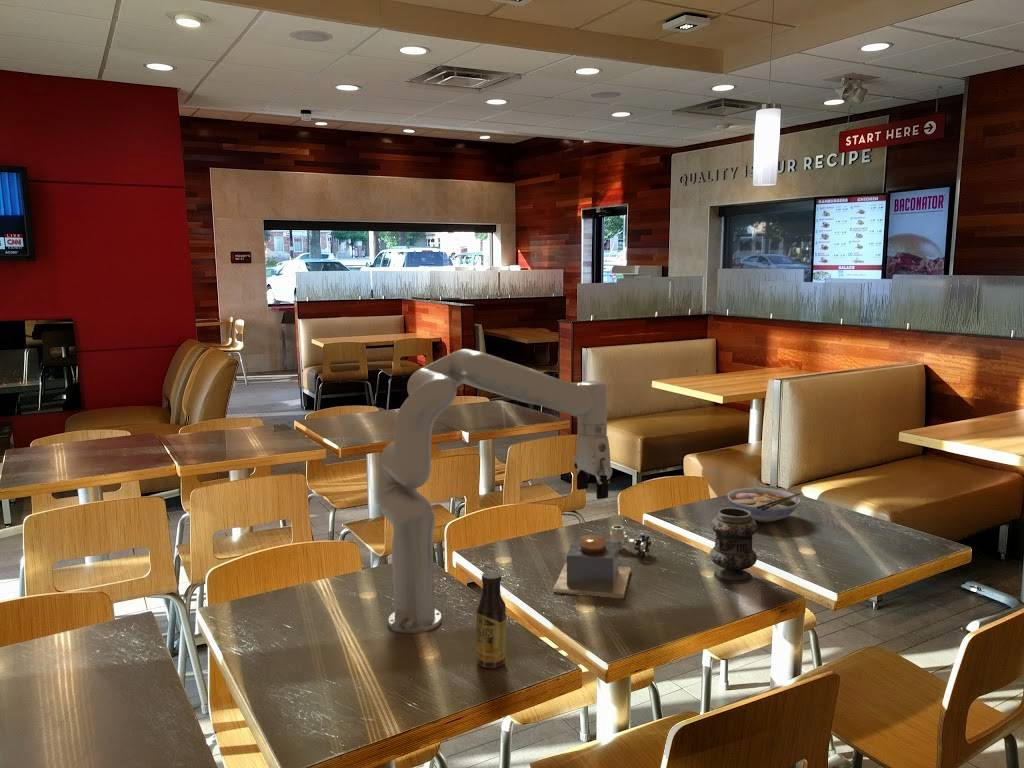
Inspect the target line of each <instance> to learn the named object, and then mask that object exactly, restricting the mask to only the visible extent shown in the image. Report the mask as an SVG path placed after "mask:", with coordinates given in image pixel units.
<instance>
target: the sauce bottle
mask: <svg viewBox="0 0 1024 768" xmlns="http://www.w3.org/2000/svg"><path fill="white" fill-rule="evenodd" d="M501 581H502V574H501V573H500V572H498V571H494V570H492V571H490V570H489V571H485V572H484V573H482V575H481V582H482V592H481V593H482V594H481V595H480V599H479V603H478V606H477V609H476V616H475V617H476V618H475V619H476V623H475V624H476V626H475V629H476V631H475V635H476V637H475V638H476V640H475V641H476V643H475V644H476V645H475V646H476V647H475V648H476V649H475V655H476V663H477V664H478V665H479V666H480V667H482V668H484V669H485V668H486V669H491V670H492V669H496V668H500V667H501V666H503V664H505V661H506V651H507V650H506V647H507V646H506V645H507V642H506V640H507V636H506V635H507V633H506V632H507V631H506V630H507V616H506V615H507V614H506V610H507V609H506V602H505V601H504V599H503V597H502V595H501V593H502V592H501Z"/></svg>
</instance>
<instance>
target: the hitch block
mask: <svg viewBox="0 0 1024 768" xmlns="http://www.w3.org/2000/svg"><path fill="white" fill-rule="evenodd" d="M629 575H631V567H630V566H629V567H627V566H619V550H618V542H612V541H606V550H605V551H604V552H601V553H585V552H582V551H581V550H580V549H579V539H573V542H572V543H571V546H570V547H569V550H568V552H567V553H566V562H565V563H564V565H563V567H562V569H561V572H560V574H559V576H558V578H557V580H556V582H555V584H554V587H553V588H552V589H553V590H552V591H553V592H560V593H559V594H561V593H569V594H568V595H573V594H582V595H581V596H585V595H591V596H590V597H597V596H600V597H599V598H609V597H610V598H609V599H621V598H624V599H625V596H624V595H625V594H626V592H625V591H627V588H626V587H628V584H629V580H628V579H630V576H629ZM627 583H628V584H627Z"/></svg>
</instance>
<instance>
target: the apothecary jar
mask: <svg viewBox="0 0 1024 768" xmlns="http://www.w3.org/2000/svg"><path fill="white" fill-rule="evenodd" d="M710 527H711V530H713V531H714V532H715V540H714V547H712V549H710V552H709V557H710V560H711V561H712V562H713V564H715V565H717V566H719V567H720V568H719V569H717V570H716V571H714V574H713V577H714V578H715V579H716V580H718V581H721V582H724V583H728V584H745V583H748V582H750V581H752V579H753V575H752V574H751V572H749V571H747V569H750V568H752V567H753V566H754V565H756V562H757V561H758V556H757V553H756V552H755V551H754V550H753V536H754V535H755V534H756V533H757V531H758V525H757V523H756V521H754V520H752V517H751V513H750V512H749V511H747V510H745V509H740V508H734V507H723V508H720V509H719V510H718V512H717V515H716V517H713V519H712V521H711V524H710Z"/></svg>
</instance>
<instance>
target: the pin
mask: <svg viewBox="0 0 1024 768" xmlns="http://www.w3.org/2000/svg"><path fill="white" fill-rule="evenodd" d="M578 540H579V549H580V550H581V551H582V552H585V553H601V552H604V551H605V550H606V542H607V538H606V537H603V536H601V535H598V534H597V535H595V534H588V535H582V536H581V537H580V538H579V539H578Z"/></svg>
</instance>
